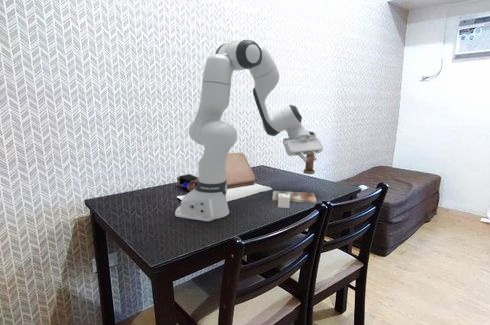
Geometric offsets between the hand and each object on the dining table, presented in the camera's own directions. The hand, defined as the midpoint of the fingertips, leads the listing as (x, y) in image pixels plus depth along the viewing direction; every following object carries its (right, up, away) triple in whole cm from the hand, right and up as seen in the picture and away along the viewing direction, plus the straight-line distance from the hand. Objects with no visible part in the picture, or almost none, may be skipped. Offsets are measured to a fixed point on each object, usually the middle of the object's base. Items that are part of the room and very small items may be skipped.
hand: (310, 160), depth 140 cm
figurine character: (-61, -15, +17) cm, 65 cm away
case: (-38, -12, +30) cm, 50 cm away
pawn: (0, -6, +2) cm, 6 cm away
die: (-13, -21, -5) cm, 25 cm away
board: (-7, -18, +6) cm, 20 cm away
